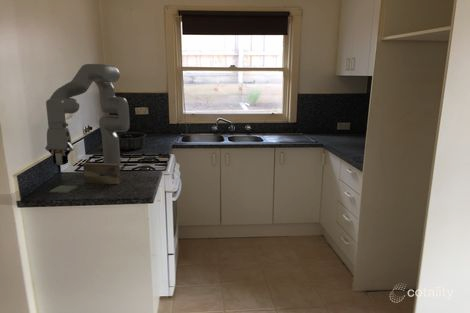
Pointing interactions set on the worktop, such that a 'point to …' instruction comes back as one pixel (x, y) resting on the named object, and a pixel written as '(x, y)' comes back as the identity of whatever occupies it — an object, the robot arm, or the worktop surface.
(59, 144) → the robot arm
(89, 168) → the stand
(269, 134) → the worktop surface
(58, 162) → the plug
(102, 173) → the strap
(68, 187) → the mat
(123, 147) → the bundt pan
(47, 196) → the worktop surface
